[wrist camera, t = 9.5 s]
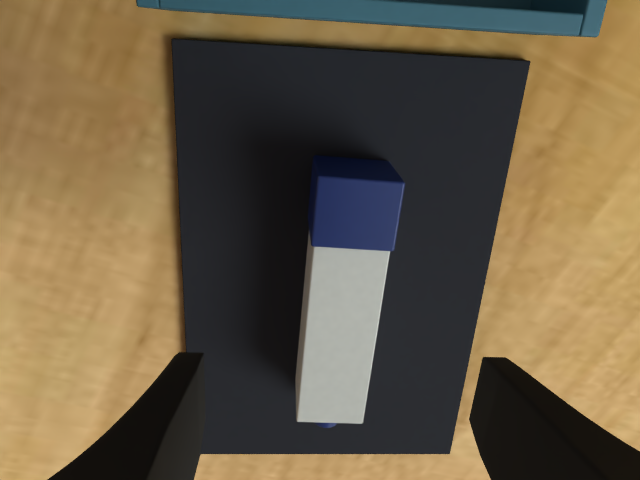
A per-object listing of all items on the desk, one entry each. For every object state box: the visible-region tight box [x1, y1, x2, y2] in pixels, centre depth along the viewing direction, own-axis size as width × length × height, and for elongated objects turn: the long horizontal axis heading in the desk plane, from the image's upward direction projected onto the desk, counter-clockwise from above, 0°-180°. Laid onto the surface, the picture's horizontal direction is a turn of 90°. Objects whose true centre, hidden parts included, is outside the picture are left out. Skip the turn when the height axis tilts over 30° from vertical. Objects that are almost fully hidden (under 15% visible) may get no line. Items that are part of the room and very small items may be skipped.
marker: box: [295, 155, 405, 428], centre depth 21 cm, size 12×3×3 cm, turn 175°
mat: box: [172, 39, 530, 454], centre depth 22 cm, size 13×19×1 cm
